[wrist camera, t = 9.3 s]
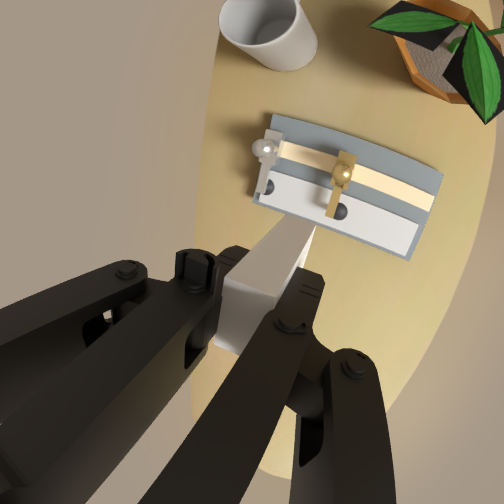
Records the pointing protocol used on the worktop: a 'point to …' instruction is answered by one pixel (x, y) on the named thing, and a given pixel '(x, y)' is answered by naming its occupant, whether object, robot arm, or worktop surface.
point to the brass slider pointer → (340, 179)
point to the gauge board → (351, 187)
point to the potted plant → (449, 53)
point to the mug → (270, 32)
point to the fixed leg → (268, 155)
